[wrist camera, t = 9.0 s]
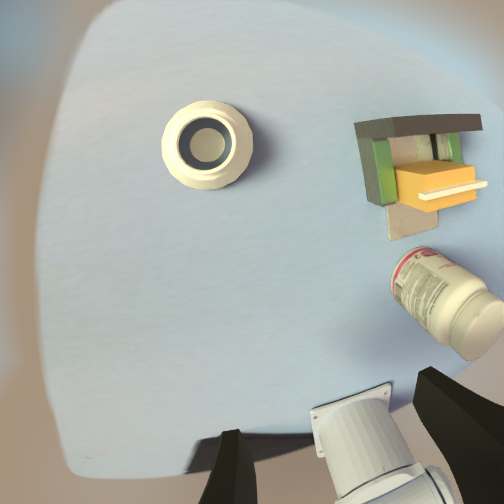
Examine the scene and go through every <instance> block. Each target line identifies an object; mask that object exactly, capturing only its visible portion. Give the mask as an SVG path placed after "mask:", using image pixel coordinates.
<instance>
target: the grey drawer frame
mask: <svg viewBox="0 0 504 504" xmlns="http://www.w3.org/2000/svg"><path fill="white" fill-rule="evenodd" d="M354 125H355V130H356V135H357V140H358V145H359V150H360V156H361V161H362V167H363V173H364V179H365V186H366V193H367V200H368V201H369V202H372V203H374V204H377V205H379V206H382V207H384V206H386V215H387V226H388V238H389V240H390V241H392V240H396V239H399V238H403V237H406V236H409V235H413V234H416V233H419V232H423V231H426V230H429V229H433V228H436V227H438V210H435V211H431V212H428V213H427V212H424V211H422V210H419V209H416V208H414V207H411V206H408V205H406V204H403V203H400V202H397V201H398V199H397V190H396V181H395V174H394V167H395V166H401V165H407V164H413V163H419V162H425V161H431V160H433V158H434V160H439V161H446V162H453V163H459V164H463V159H462V150H461V142H460V135H459V132H460V131H477V130H483V129H482V122H481V116H480V114H437V115H417V116H403V117H391V118H384V119H377V120H370V121H364V122H357V123H354ZM430 137H431V140H430ZM431 143H432V147H431ZM432 150H433V154H432Z"/></svg>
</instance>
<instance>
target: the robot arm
mask: <svg viewBox="0 0 504 504" xmlns="http://www.w3.org/2000/svg"><path fill="white" fill-rule="evenodd" d="M390 396H391V385H390V384H389V383H386V384H384V385H381V386H379V387H376V388H374V389H371V390H368V391H366V392H363V393H360V394H357V395H355V396H352V397H349V398H346V399H343V400H340V401H337V402H334V403H331V404H328V405H324V406H321V407H318V408H314V409H312V410H311V411H310V419H311V424H312V430H313V435H314V441H315V446H316V451H317V456H318V457H324V456H325V457H326V461H327V464H328V467H329V470H330V473H331V476H332V479H333V483H334V486H335V489H336V492H337V495H338V498H339V500H337V501H335V504H460V502H459V499H458V496H457V494H456V491H455V489H454V487H453V485H452V483H451V482H450V480H449V478H448V477H447V475H446V474H445V472H444V471H443V470H442V469H441V468H440V467H435V466H432V465H429V466H428V467H426V468H425V469H424V467H423V465H422V463H421V462H420V461H419V462H416V460H415V458H414V456H413V454H412V453H411V451H410V449H409V447H408V445H407V444H406V442H405V440H404V438H403V436H402V434H401V433H400V431H399V429H398V427H397V425H396V424H395V422H394V420H393V418H392V417H391V415H390V413H389V403H390ZM413 405H414V407H415V409H416V411H417V413H418V416H419V417H420V419H421V422H422V423H423V425H424V426H425V428H426V429H427V431H428V433H429V434H430V436H431V437H432V439H433V440H434V442H435V443H436V445H437V446H438V448H439V449H440V451H441V452H442V454H443V456H444V457H445V459H446V461H447V462H448V464H449V466H450V469H451V471H452V473H453V475H454V478H455V480H456V483H457V485H458V488H459V491H460V493H461V496H462V499H463V503H464V504H504V406H501V405H498V404H496V403H494V402H492V401H490V400H488V399H486V398H484V397H481V396H480V395H478V394H476V393H474V392H472V391H471V390H469V389H467V388H465V387H463V386H462V385H460V384H459V383H457V382H456V381H454V380H452V379H451V378H449V377H447V376H446V375H444V374H443V373H441V372H440V371H438V370H436V369H435V368H433V367H431V366H430V367H428V368H426V369H424V370H422V371H419V372H418V378H417V383H416V389H415V394H414V398H413ZM198 504H258V503H257V486H256V474H255V468H254V462H253V457H252V453H251V451H250V449H249V447H248V446H247V444H246V442H245V440H244V438H243V436H242V434H241V432H240V430H239V429H235V430H229V431H223V432H222V433H221V437H220V442H219V446H218V450H217V454H216V457H215V461H214V464H213V467H212V470H211V473H210V476H209V479H208V482H207V485H206V487H205V489H204V492H203V494H202V497H201V499H200V501H199V503H198Z"/></svg>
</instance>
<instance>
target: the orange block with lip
mask: <svg viewBox="0 0 504 504" xmlns="http://www.w3.org/2000/svg"><path fill="white" fill-rule="evenodd" d="M394 174H395V181H396V190H397V199H398V201H397V202H400V203H403V204H406V205H408V206H411V207H414V208H416V209H419V210H422V211H424V212H427V213H428V212H431V211H435V210H439V209H442V208H446V207H450V206H454V205H457V204H461V203H465V202H468V201H472V200H476V188H481V187H485V186H487V181H486V180H481V179H479V180H475V168H474V166H472V165H466V164H459V163H453V162H446V161H439V160H431V161H425V162H419V163H413V164H407V165H401V166H395V167H394Z"/></svg>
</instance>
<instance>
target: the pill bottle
mask: <svg viewBox="0 0 504 504" xmlns="http://www.w3.org/2000/svg"><path fill="white" fill-rule="evenodd" d="M391 291H392V294H393V296H394V298H395V299H396V301H397V302H398V303H399V304H400V305H401V306H402V307H403V308H404V309H405V310H406V311H407V312H408V313H409V314H410V315H411V316H413V318H414V319H416V320H417V322H418V323H420V324H421V326H422V327H423V328H424V329H425V330H426V331H427V332H428V333H429V334H430V335H431V336H432V337H433V338H434V339H435V340H436V341H437V342H439V343H440V344H442V345H444V346H451V347H452V348H453V349H454V350H455V351H456V352H457V353H458V354H459V355H460V356H461V357H462V358H463V359H464V360H466V361H472V360H475V359H478V358H479V357H481V356H482V355H483V354H485V353H486V352H487V351H488V350H489V349H490V348H491V346H492V345H493V344H494V343H495V341H496V340H497V338H498V336H499V335H500V333H501V331H502V329H503V326H504V302H503V301H502V300H500V299H499V298H498V297H496V296H495V295H494V294H493V293H491V292H489V291H488V289H487V286H486V284H485V283H484V282H483V281H482V280H481V279H480V278H479V277H477V276H476V275H474V274H472V273H471V272H469V271H467V270H466V269H464V268H462V267H461V266H459V265H457V264H456V263H454V262H452V261H451V260H449V259H447V258H446V257H444V256H442V255H440V254H439V253H437V252H435V251H433V250H431V249H429V248H426V247H418V248H415V249H412V250H410V251H409V252H407V253H406V254H405V255H404V256H403V257H402V258H401V260H400V261H399V262H398V264H397V265H396V267H395V269H394V271H393V274H392V277H391Z"/></svg>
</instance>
